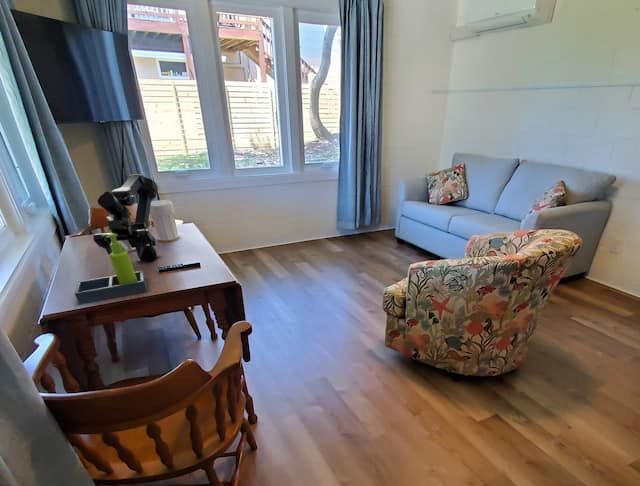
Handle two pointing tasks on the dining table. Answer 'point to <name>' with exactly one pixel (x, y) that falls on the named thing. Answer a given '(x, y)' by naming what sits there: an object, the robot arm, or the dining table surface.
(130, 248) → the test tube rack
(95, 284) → the divided storage box
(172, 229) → the white upright cylinder
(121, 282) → the soap dispenser
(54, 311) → the dining table surface
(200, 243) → the dining table surface
